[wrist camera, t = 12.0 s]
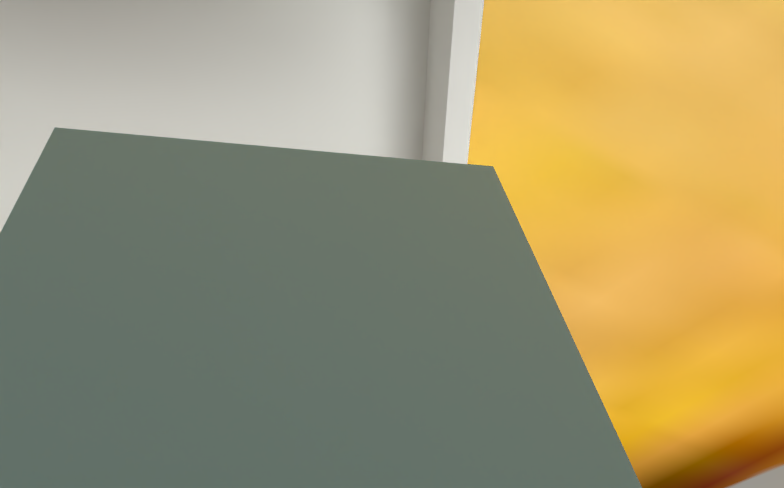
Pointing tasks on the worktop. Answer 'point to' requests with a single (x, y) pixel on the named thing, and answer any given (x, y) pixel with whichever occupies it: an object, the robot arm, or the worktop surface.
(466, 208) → the teal block
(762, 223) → the worktop surface
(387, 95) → the tray
